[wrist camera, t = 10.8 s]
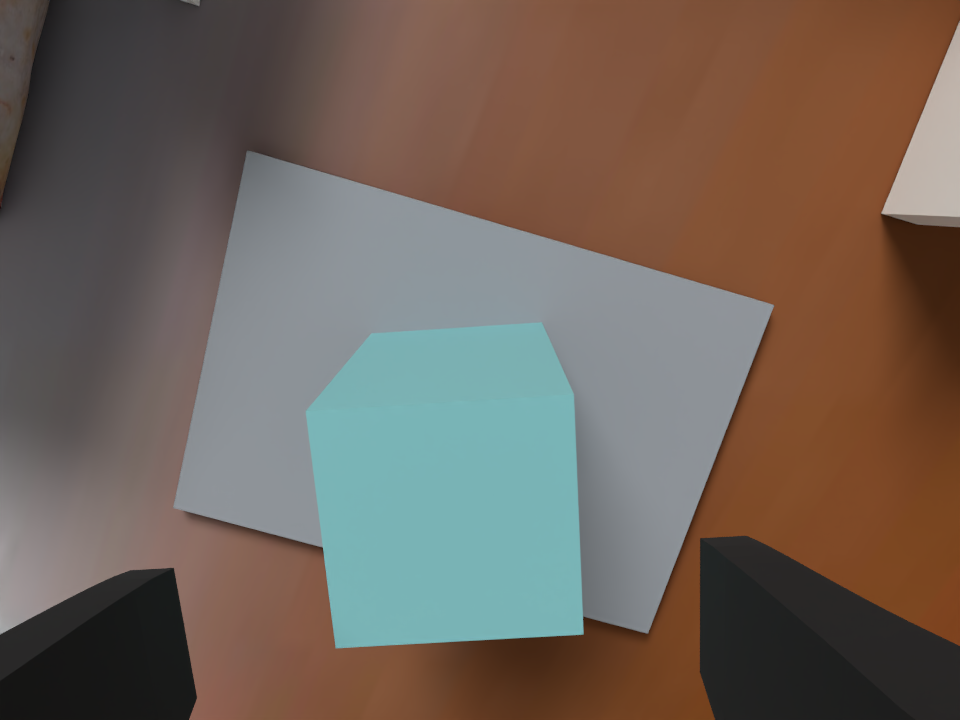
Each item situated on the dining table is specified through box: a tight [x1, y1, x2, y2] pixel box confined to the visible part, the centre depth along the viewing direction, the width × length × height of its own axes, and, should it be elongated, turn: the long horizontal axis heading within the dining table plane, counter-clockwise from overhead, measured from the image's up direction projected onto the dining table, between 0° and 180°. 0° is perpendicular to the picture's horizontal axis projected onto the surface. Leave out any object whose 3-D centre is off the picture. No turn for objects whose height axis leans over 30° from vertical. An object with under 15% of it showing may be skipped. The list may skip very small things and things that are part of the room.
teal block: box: [306, 322, 584, 648], centre depth 16 cm, size 4×4×7 cm
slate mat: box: [173, 151, 774, 634], centre depth 19 cm, size 14×10×1 cm
